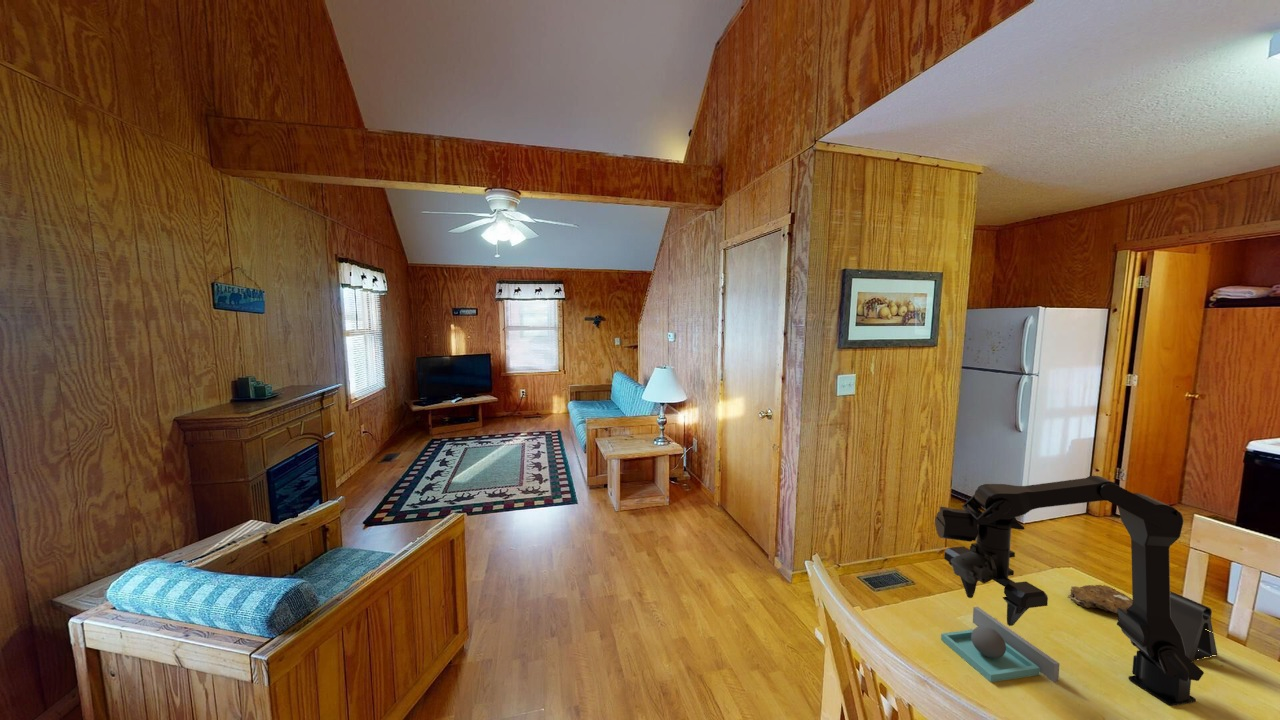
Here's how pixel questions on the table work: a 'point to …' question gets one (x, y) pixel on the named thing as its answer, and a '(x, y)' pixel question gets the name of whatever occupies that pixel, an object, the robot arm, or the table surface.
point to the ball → (988, 642)
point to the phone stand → (1193, 626)
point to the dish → (990, 668)
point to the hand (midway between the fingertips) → (989, 610)
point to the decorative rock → (1100, 597)
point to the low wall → (1019, 644)
